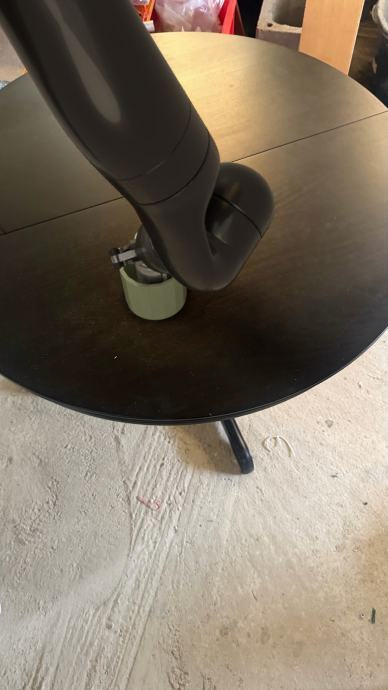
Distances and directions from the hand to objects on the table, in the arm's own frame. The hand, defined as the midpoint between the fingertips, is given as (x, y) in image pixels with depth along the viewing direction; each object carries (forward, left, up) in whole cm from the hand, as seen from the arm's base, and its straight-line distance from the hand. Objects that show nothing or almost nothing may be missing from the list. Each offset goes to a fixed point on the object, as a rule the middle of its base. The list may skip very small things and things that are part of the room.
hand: (149, 247), depth 71 cm
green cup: (0, -1, -9) cm, 10 cm away
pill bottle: (+1, -2, -6) cm, 7 cm away
